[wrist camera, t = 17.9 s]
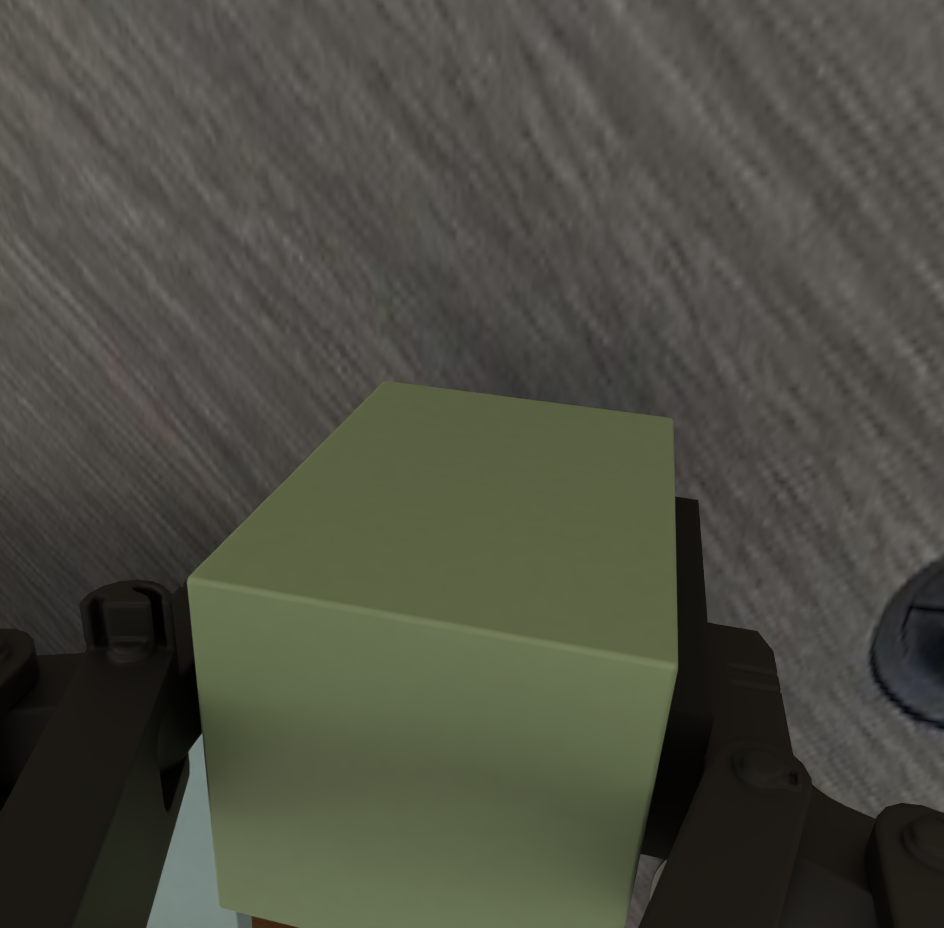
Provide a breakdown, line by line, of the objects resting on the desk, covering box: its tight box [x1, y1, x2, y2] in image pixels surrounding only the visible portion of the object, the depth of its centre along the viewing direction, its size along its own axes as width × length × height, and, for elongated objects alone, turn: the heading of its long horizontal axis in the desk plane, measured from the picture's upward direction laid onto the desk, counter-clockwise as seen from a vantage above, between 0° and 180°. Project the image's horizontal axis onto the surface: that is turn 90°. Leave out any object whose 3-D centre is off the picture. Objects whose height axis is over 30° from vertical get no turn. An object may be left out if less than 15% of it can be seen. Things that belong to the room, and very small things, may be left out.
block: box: [187, 381, 678, 928], centre depth 14 cm, size 6×6×8 cm
